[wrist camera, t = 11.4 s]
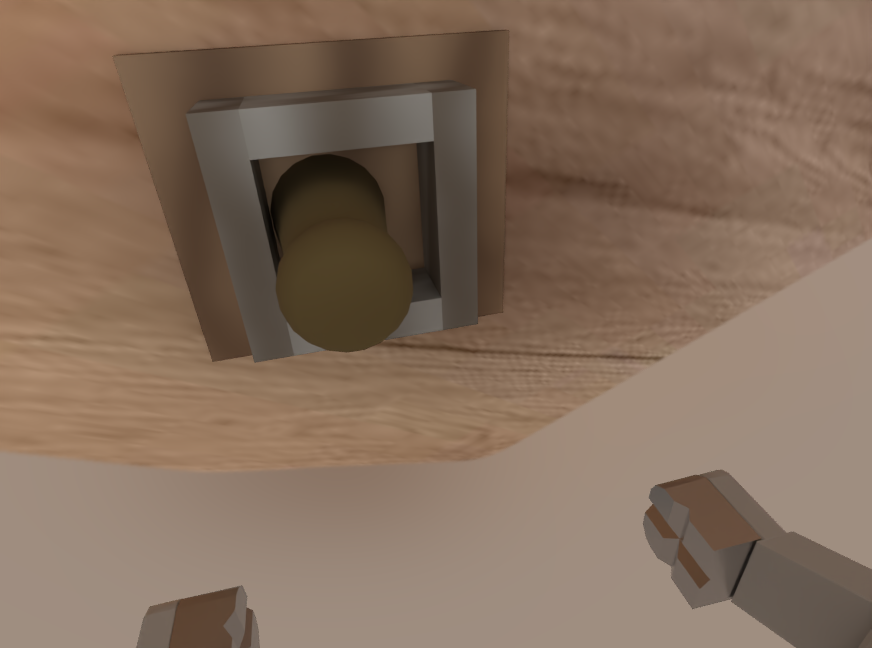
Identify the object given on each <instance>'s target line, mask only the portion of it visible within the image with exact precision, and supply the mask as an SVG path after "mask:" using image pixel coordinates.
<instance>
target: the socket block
mask: <svg viewBox="0 0 872 648" xmlns="http://www.w3.org/2000/svg"><path fill="white" fill-rule="evenodd" d="M112 57H113V60H114V63H115V66H116V69H117V72H118V75H119V78H120V81H121V84H122V87H123V90H124V93H125V96H126V99H127V102H128V105H129V108H130V111H131V114H132V117H133V121H134V124H135V127H136V130H137V133H138V136H139V139H140V142H141V145H142V148H143V151H144V154H145V157H146V160H147V163H148V166H149V169H150V172H151V175H152V178H153V181H154V184H155V188H156V191H157V194H158V197H159V200H160V203H161V206H162V209H163V212H164V215H165V218H166V221H167V224H168V227H169V230H170V233H171V236H172V239H173V242H174V245H175V248H176V252H177V255H178V258H179V261H180V264H181V267H182V270H183V273H184V276H185V279H186V282H187V285H188V288H189V291H190V294H191V297H192V300H193V303H194V306H195V309H196V312H197V315H198V319H199V322H200V325H201V328H202V331H203V334H204V337H205V340H206V343H207V346H208V349H209V352H210V355H211V358H212V361H213V362H214V361H220V360H226V359H232V358H238V357H244V356H250V355H253V359H254V362H261V361H267V360H272V359H278V358H284V357H290V356H296V355H301V354H307V353H313V352H319V351H324V350H325V349H323V348H320V347H318V346H315V345H312V344H310V343H308V342H307V341H305V340H304V339H303V338H302V337H300V336H299V335H298V334H297V333H295V332H294V331H293V330H292V328H291V326H290V325H289V323H288V322H287V320H286V319H285V317H284V316H283V314H282V312H281V310H280V308H279V303H278V299H277V294H276V280H277V273H278V266H279V262H280V261H281V259H282V257H283V252H282V249H281V246H280V243H279V240H278V238H277V235H276V232H275V229H274V226H273V221H272V216H271V212H270V207H271V199H272V192H273V190H274V188H275V186H276V184H277V182H278V180H279V178H280V176H281V175H282V174H283V173H285V172H286V171H287V170H288V169H289V168H290V167H291V166H292V165H293V164H294V163H296V162H298V161H301V160H303V159H305V158H307V157H310V156H314V155H324V154H333V155H337V156H342V157H346V158H349V159H351V160H353V161H355V162H356V163H358V164H360V165H361V166H363V167H365V168H366V169H367V171H368V172H369V173H370V174H371V175H372V176H373V177H374V178H375V180H376V181H377V183H378V185H379V187H380V190H381V192H382V194H383V196H384V204H385V214H386V224H387V233H388V234H389V235H390V236H391V237H392V238H393V239H394V240H395V242H396V243H397V244H398V245H399V246H400V247H401V248H402V250H403V252H404V254H405V256H406V259H407V261H408V263H409V265H410V268H411V270H412V280H413V296H412V300H411V304H410V307H409V311H408V314H407V315H406V317H405V318H404V320H403V321H402V323H401V324H400V326H399V327H398V329H397V330H395V331H394V332H393V333H392V334H391V335H389V336H388V337H387V338H386V339H385V340H388V339H394V338H400V337H405V336H411V335H417V334H423V333H429V332H434V331H440V330H446V329H452V328H458V327H463V326H469V325H475V324H478V317H479V316H485V315H491V314H497V313H503V287H504V241H505V196H506V150H507V105H508V59H509V30H496V31H480V32H465V33H449V34H434V35H419V36H403V37H388V38H372V39H357V40H341V41H326V42H310V43H295V44H279V45H264V46H248V47H233V48H217V49H202V50H186V51H171V52H155V53H140V54H125V55H115V56H112Z"/></svg>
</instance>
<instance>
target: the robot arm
mask: <svg viewBox="0 0 872 648" xmlns="http://www.w3.org/2000/svg"><path fill="white" fill-rule="evenodd" d="M649 499H650V500H651V502H652V503H653V504H652V506H651V507H650V508H649V509H648V510H647V511H646V512H645V516H644V521H643V525H644V530H645V535H646V538H647V540H648V543H649V545H650V547H651V548H652V550H653V551H654V553H655V555H656V556H657V558H658V559H660V560H662V561H663V562H665V563H667V564H668V565H670V566H671V568H672V569H671V578H672V580H673V581H674V583H675V584H676V586H677V587H678V589H679V590H680V591H681V593H682V594H683V596H684V597H685V599H686V600H687V602H688V603H689V605H690V606H691V607H692V609H694V608H698V607H702V606H706V605H710V604H714V603H718V602H722V601H726V600H730V599H732V601H731V602H732V603H734V604H735V605H737V606H738V607H740V608H741V609H742V610H744V611H745V612H747V613H748V614H749V615H751V616H752V617H754V618H755V619H756V620H758V621H759V622H761V623H762V624H763V625H765V626H766V627H768V628H769V629H770V630H772V631H774V632H775V633H776V634H778V635H779V636H780V637H782V638H783V639H785V640H786V641H787V642H789V643H790V644H792V645H793V646H794V647H796V648H872V569H870V568H868V567H866V566H863V565H861V564H859V563H857V562H855V561H853V560H851V559H849V558H847V557H845V556H843V555H840V554H839V553H837V552H834V551H832V550H830V549H828V548H826V547H824V546H822V545H820V544H818V543H816V542H814V541H811V540H809V539H808V538H806V537H803V536H801V535H799V534H797V533H795V532H789V533H786V532H785V531H784V530H783V529H782V528H781V527H780V526H779V525H778V524H777V523H776V521H774V519H773V518H771V516H770V515H769V514H768V513H767V512H766V511H765V510H764V509H763V508H762V507H761V506H760V505H759V504H758V503H757V502H756V501H755V500H754V499H753V498H752V497H751V496H750V495H749V494H748V493H747V492H746V490H745V489H744V488H743V487H742V486H741V485H740V484H739V483H738V482H737V481H736V480H735V479H734V478H733V477H732V476H731V475H730V474H729V473H727V472H725V471H724V470H715V471H711V472H708V473H704V474H700V475H693V476H689V477H685V478H681V479H678V480H674V481H670V482H666V483H662V484H658V485H655V486H654V487H653V488H652V489H651V491H650V495H649ZM246 604H247V595H246V592H245V591H244V588H243V586H237V587H233V588H229V589H224V590H220V591H215V592H211V593H207V594H202V595H198V596H193V597H189V598H185V599H179V600H175V601H171V602H166V603H163V604H158V605H154V606H150V607H149V609H148V611H147V613H146V615H145V616H144V619H143V622H142V626H141V630H140V635H139V639H138V643H137V647H136V648H260V646H259V631H258V626H257V621H256V617H255V615H254V612H253V610H251V609H249V608H246Z"/></svg>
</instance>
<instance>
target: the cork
mask: <svg viewBox="0 0 872 648" xmlns="http://www.w3.org/2000/svg"><path fill="white" fill-rule="evenodd" d="M270 212H271V216H272V221H273V226H274V229H275V232H276V235H277V238H278V240H279V243H280V246H281V249H282V252H283V257H282V259H281V261H280V262H279V266H278V273H277V280H276V294H277V299H278V303H279V308H280V310H281V312H282V314H283V316H284V317H285V319H286V320H287V322H288V323H289V325H290V326H291V328H292V330H293V331H294V332H295V333H297V334H298V335H299V336H300V337H302V338H303V339H304V340H305V341H307V342H308V343H310V344H312V345H315V346H318V347H320V348H323V349H325V350H329V351H339V352H353V351H359V350H365V349H367V348H369V347H372V346H374V345H376V344H378V343H380V342H382V341H383V340H385V339H386V338H387V337H388V336H389V335H391V334H392V333H393V332H394V331H395V330H397V329H398V327H399V326H400V324H401V323H402V321H403V320H404V318H405V317H406V315H407V314H408V311H409V307H410V304H411V300H412V296H413V280H412V270H411V268H410V265H409V263H408V261H407V259H406V256H405V254H404V252H403V250H402V248H401V247H400V246H399V245H398V244H397V243H396V242H395V240H394V239H393V238H392V237H391V236H390V235H389V234H388V233H387V224H386V214H385V204H384V196H383V194H382V192H381V190H380V187H379V185H378V183H377V181H376V180H375V178H374V177H373V176H372V175H371V174H370V173H369V172H368V171H367V169H366V168H365V167H363V166H361V165H360V164H358V163H356V162H355V161H353V160H351V159H349V158H346V157H342V156H337V155H333V154H324V155H314V156H310V157H307V158H305V159H303V160H301V161H298V162H296V163H294V164H293V165H292V166H291V167H290V168H289V169H288V170H287V171H286V172H285V173H283V174H282V175H281V176H280V178H279V180H278V182H277V184H276V186H275V188H274V190H273V192H272V199H271V207H270Z"/></svg>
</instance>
